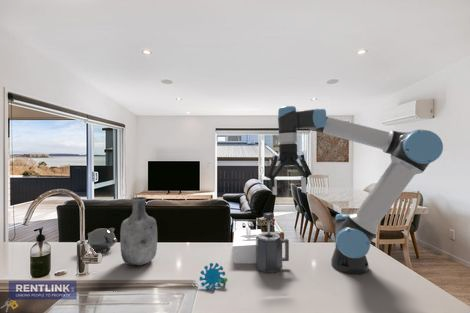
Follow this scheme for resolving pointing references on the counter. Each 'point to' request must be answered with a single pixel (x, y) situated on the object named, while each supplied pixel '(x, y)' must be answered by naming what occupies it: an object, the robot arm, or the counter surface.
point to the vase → (138, 235)
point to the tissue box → (245, 245)
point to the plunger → (268, 217)
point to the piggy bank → (102, 239)
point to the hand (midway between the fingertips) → (289, 193)
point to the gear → (213, 276)
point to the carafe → (270, 252)
